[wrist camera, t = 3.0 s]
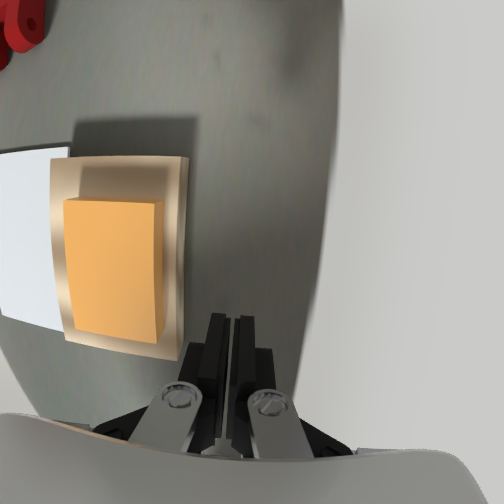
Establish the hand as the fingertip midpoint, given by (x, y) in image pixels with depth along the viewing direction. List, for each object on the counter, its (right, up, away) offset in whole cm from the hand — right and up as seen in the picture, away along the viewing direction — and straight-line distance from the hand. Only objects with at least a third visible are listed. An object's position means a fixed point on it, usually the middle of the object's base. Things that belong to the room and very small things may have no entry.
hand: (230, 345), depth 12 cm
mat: (-22, +5, +12) cm, 25 cm away
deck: (-10, +4, +12) cm, 16 cm away
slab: (-9, +3, +9) cm, 13 cm away
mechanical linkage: (-25, +30, +5) cm, 39 cm away
